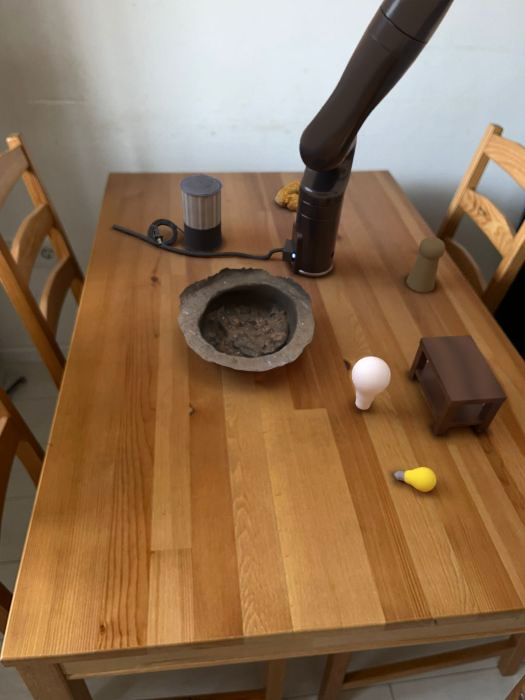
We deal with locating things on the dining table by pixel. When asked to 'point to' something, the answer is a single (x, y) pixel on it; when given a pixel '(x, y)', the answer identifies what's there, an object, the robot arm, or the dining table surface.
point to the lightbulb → (369, 380)
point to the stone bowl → (246, 319)
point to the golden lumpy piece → (289, 196)
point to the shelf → (457, 382)
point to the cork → (426, 265)
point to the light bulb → (418, 478)
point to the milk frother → (195, 216)
